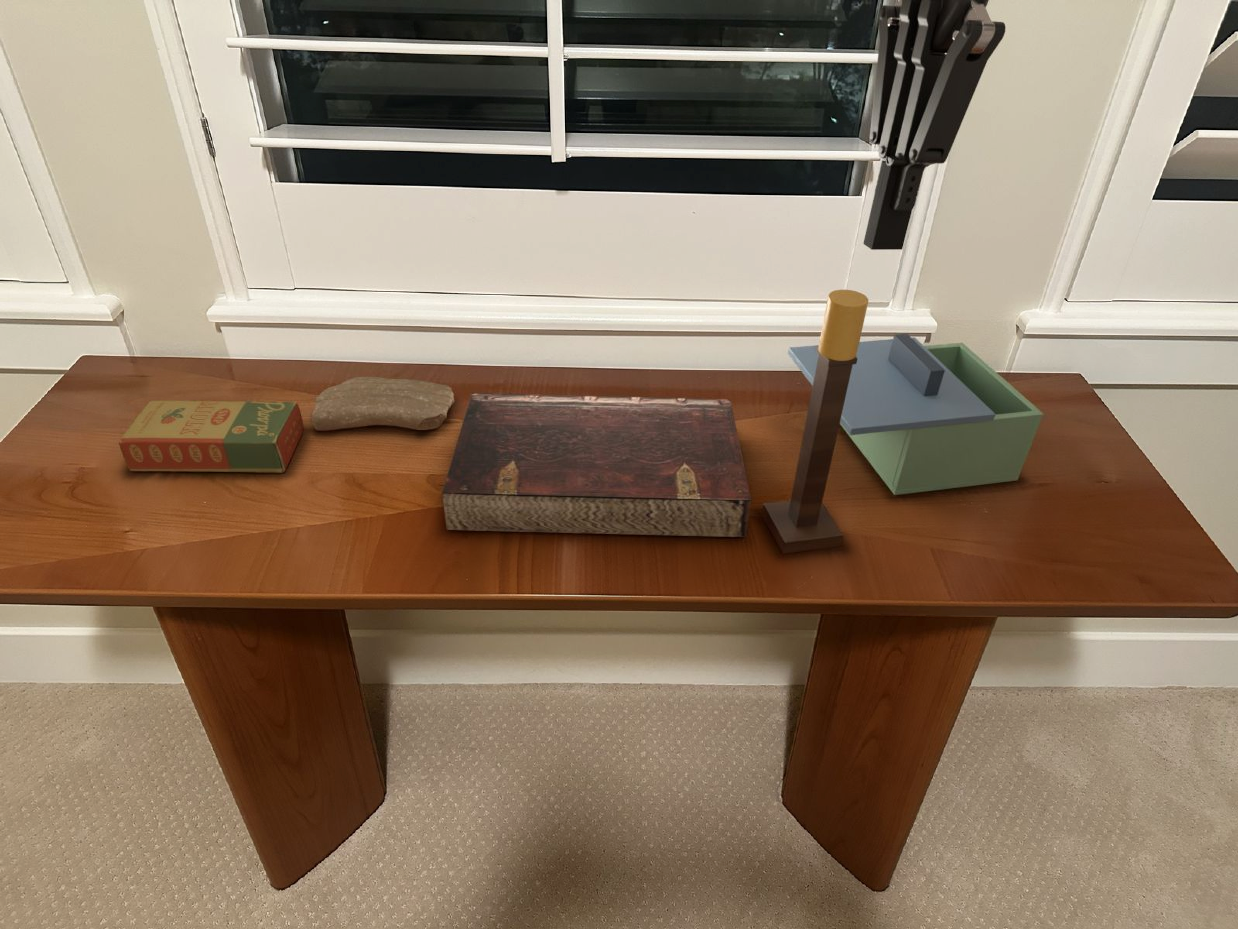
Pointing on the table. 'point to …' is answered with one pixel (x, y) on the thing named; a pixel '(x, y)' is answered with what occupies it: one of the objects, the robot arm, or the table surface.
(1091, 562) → the table surface
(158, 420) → the carton
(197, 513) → the table surface
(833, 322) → the peg
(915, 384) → the lid
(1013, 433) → the bin
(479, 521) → the hardback book
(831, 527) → the stand
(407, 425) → the decorative stone
